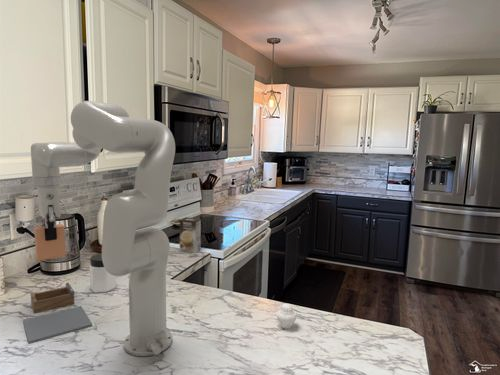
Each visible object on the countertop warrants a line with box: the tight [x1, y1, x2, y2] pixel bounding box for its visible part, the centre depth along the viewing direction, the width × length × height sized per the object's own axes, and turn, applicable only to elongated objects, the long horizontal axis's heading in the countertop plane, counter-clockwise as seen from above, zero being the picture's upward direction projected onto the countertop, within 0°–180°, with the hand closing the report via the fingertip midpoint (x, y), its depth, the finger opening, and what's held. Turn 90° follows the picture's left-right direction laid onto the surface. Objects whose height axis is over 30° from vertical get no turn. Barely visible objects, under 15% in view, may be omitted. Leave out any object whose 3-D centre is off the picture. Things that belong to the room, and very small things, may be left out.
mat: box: [22, 305, 93, 344], centre depth 104 cm, size 14×16×1 cm
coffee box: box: [179, 216, 202, 254], centre depth 176 cm, size 9×6×16 cm
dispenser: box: [30, 282, 75, 314], centre depth 117 cm, size 8×12×5 cm
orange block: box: [33, 223, 67, 262], centre depth 114 cm, size 4×8×10 cm, turn 127°
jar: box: [88, 253, 117, 294], centre depth 129 cm, size 9×8×12 cm
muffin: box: [275, 303, 298, 330], centre depth 106 cm, size 6×6×7 cm
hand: (49, 237), depth 114 cm, fingers closed on orange block, 4 cm apart
